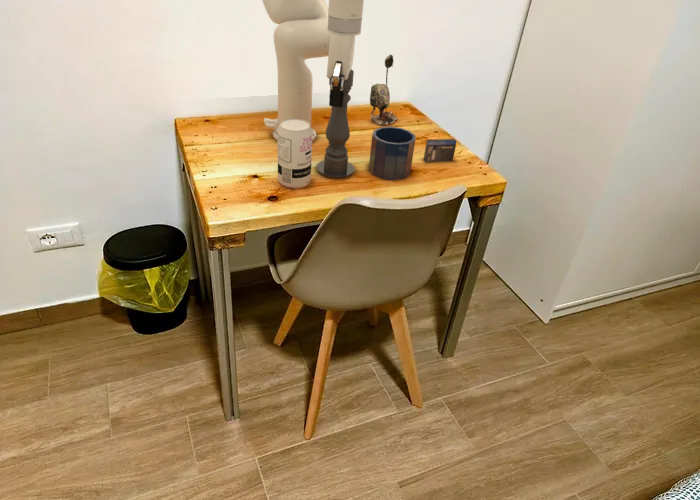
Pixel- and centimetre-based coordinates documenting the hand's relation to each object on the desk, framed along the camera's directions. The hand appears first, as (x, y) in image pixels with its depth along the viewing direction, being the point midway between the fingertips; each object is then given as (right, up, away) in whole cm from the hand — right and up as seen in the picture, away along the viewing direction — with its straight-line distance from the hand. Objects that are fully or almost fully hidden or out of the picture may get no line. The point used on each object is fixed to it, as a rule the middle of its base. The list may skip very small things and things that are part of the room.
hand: (339, 99), depth 127 cm
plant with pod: (+13, +5, +41) cm, 43 cm away
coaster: (-1, -16, +11) cm, 19 cm away
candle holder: (-1, -15, +10) cm, 18 cm away
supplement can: (-11, -20, +4) cm, 23 cm away
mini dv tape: (+27, -12, +20) cm, 36 cm away
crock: (+13, -15, +13) cm, 24 cm away
